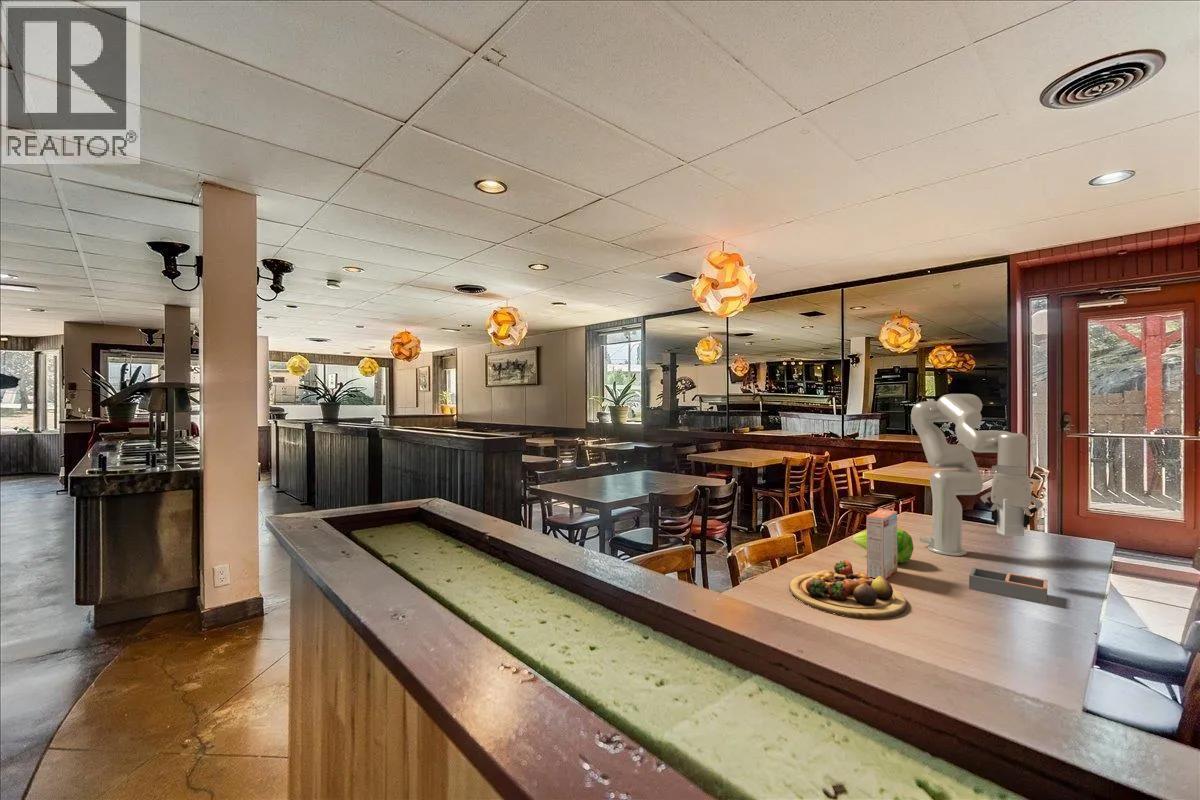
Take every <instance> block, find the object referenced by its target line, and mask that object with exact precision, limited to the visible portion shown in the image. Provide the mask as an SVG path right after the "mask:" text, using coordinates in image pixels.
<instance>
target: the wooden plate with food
mask: <svg viewBox="0 0 1200 800" xmlns="http://www.w3.org/2000/svg"><path fill="white" fill-rule="evenodd" d="M833 568H834V571H832V570H829V569H824V570H819V571H818V572H810V573H809V572H808V573H804V574H800V575H798V576H795V577H794V578H792V580H791V581H790V583H789V585H788V590H789V593H790V592H791V593H792V594H793V595H794V596H795V597H796V598H797V599H798V600H800V601H802V602H803V603H805V604H807V605H809V606H808V607H810V606H811V607H810V608H812V607H813V609H815V608H816V609H815V610H817V609H818V611H820V610H822V611H821V612H823V611H826V612H825V613H827V612H830V613H829V614H831V613H835V614H839V615H838V616H840V615H844V616H843V617H845V616H848V617H847V618H852V617H853V618H852V619H861V618H863V620H879V619H878V618H883V619H887V618H886V617H890V618H893V617H892V616H894V617H896V616H899V615H901V614H902V613H903V612H904V611H905V610H906V608H907V606H908V605H907V600H906V598H905V595H904V594H903V593H902V592H900V591H899V590H898V589H896V588H895V587H893V586H892V585H891V583H890V582H889V581H888V579H887V580H886V579H885V578H883V577H881V576H878V577H877V578H875V579H873V578H869V577H868V576H867V573H861V572H857V573H854V571H853V566H852V564H851V562H850V561H848V560H846V559H844V560H840V561H839V562H835V564H834V567H833ZM791 593H790V594H791ZM792 594H791V595H792ZM793 595H792V596H793ZM796 598H795V599H796ZM797 599H796V600H797ZM798 600H797V601H798ZM800 601H799V602H800ZM802 602H801V603H802ZM803 603H802V604H803ZM805 604H804V605H805ZM807 605H806V606H807ZM835 614H834V615H835ZM898 614H899V615H898Z"/></svg>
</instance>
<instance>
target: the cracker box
mask: <svg viewBox="0 0 1200 800" xmlns="http://www.w3.org/2000/svg"><path fill="white" fill-rule="evenodd" d="M865 518H866V523H865V524H866V531H867V550H866V575H867V576H869V577H873V578H877V577H878V576H881V577H883V578H885V579H887V578H888V577H889V578H890V577H892V576H893V575H894V574H895V573H896V572H897V571H898V562H897V529H898V511H895V510H889V509H883V508H881V509H880V508H879V509H878V510H876V511H874V512H872V513H870V514H868V515H866V517H865ZM893 573H894V574H893ZM892 574H893V575H892ZM873 578H872V579H873ZM889 578H888V579H889ZM888 579H887V580H888Z"/></svg>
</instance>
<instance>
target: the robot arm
mask: <svg viewBox="0 0 1200 800" xmlns="http://www.w3.org/2000/svg"><path fill="white" fill-rule="evenodd" d="M982 409H983V402H982V400H981V399H980V397H979V396H977V395H975V394H973V393H972V394H971V393H949V394H948V393H947V394H944V395H942V396H940V397H939V398H938V399H937V401H936V400H933V401H932V400H929V401H927V400H926V401H920V402H917V403H916V404H914V405H913V407H912V409H911V412H910V413H911V414H910V419H911V420H910V421H911V423H912V426H913V428H914V429H915V432H916V434H917V435H918V437H919V439H920V442H921V446H922V449H923V452H924V455H925V457H926V461H927V463H928V465H930V467H932V468H933V469H941V470H937V471H935V472H933V473H932V474H930V477H929V485H930V488H931V497H932V536H931V537H930V536H929V537H925V536H920V537H919V542H922V543H924V544H928V545H927V550H929V551H931V552H933V553H937V554H940V555H944V556H945V555H946V556H956V557H959V556H960V557H961V556H966V555H967V553H968V551H967V550H966V549H965V548H963V547H962V546H963V544H962V543H963V505H962V504H961V502H960V500H959V499H958V498H957V496H975V495H978V494H980V493H981V492H982V491H983V487H984V484H983V483H984V481H983V478H982V475H981V472H980V470H979V467H978V464H977V461H976V459H975V457H974V454H973V452H974V453H992V454H995V453H997V461H996V463H997V464H996V465H992V466H991V470H993V471H996V472H995V473H993V476H992V483H991V491H989V492H987V493H985V494H983V495H981V496H980V497H979V499H980V500H981V501H982V502H983V503H984V505H985V506H986V507H988V508H989V510H990V511H991V517H990V518H991V520H992V521H993V524H997V507H998V505H1003V500H1004V499H1007V500H1008V505H1009V506H1013V507H1021V508H1023V510H1024V529H1026V528H1028V526H1030V525H1031V515H1032V514H1034V513H1036V512H1038V510H1040V509H1041V508H1043V506H1044V503H1043V502H1042V501H1040V500H1039V499H1037V498H1036V497H1035V496H1033V495H1032V490H1031V489H1032V488H1031V485H1032V484H1031V480H1030V477H1029V476H1028V475H1027V470H1028V469H1027V466H1028V458H1027V457H1028V438H1027V436H1026V435H1025V434H1022V433H1018V432H1017V433H1016V432H1010V431H1007V430H977V429H975V428H977V427H978V426H979V425H980V424H981V422H982V417H983V415H982V414H981V411H982ZM934 423H953V424H954V425H955V428H954V430H955V431H954V432H955V436H956V439H957V441H958V442H960V444H950V443H948V441H947V438H946V436H945V433H944V432H943V431H942V430H941V429H940V428H939V427H938V426H937V425H936V424H934ZM943 469H944V470H943ZM988 498H990V501H989V500H988ZM991 502H992V503H993V504H992V503H991ZM1032 503H1034V504H1035V506H1033V507H1032V508H1029V507H1030V506H1031V505H1032Z"/></svg>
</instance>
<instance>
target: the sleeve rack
mask: <svg viewBox="0 0 1200 800" xmlns="http://www.w3.org/2000/svg"><path fill="white" fill-rule="evenodd" d="M968 589H969V590H973V591H979V592H984V593H988V594H992V593H993V594H994V595H999V596H1001V597H1002V596H1004V597H1006V598H1007V597H1008V598H1012V599H1017V600H1023V601H1027V602H1031V601H1032V603H1036V602H1037V604H1041V603H1042V605H1047V604H1048V603H1047V602H1048V579H1044V578H1038V577H1032V576H1027V575H1021V574H1016V573H1011V572H1009V573H1005V572H1001V571H994V570H989V569H984V568H983V569H982V568H979V567H973V568H972V570H971V571H970V573H969V575H968ZM993 594H992V595H993Z"/></svg>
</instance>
